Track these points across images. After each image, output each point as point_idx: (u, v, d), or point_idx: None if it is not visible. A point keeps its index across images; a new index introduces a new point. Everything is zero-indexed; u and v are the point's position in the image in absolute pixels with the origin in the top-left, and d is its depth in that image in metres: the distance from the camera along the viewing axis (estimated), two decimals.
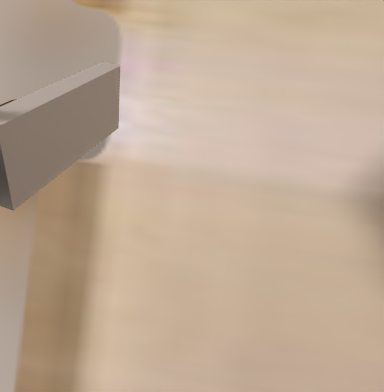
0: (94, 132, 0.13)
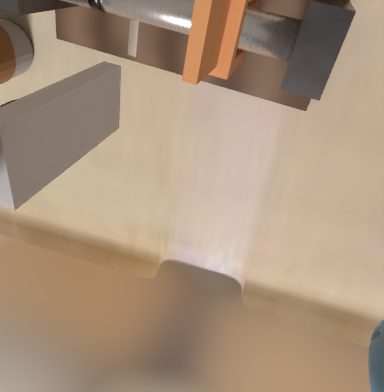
0: (95, 132, 0.13)
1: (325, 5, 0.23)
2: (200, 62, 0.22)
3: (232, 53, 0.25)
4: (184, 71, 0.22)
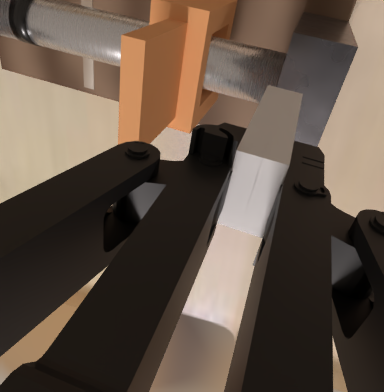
0: None
1: (315, 39, 0.16)
2: (139, 127, 0.15)
3: (194, 101, 0.19)
4: (120, 138, 0.16)
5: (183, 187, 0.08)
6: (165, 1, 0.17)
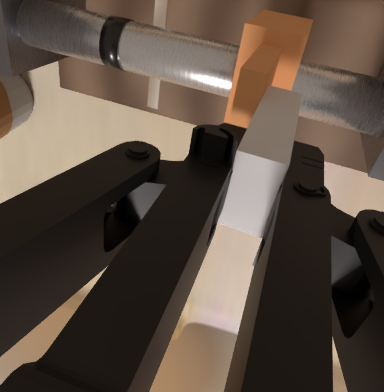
0: None
1: None
2: None
3: None
4: None
5: (183, 187, 0.08)
6: (259, 26, 0.16)
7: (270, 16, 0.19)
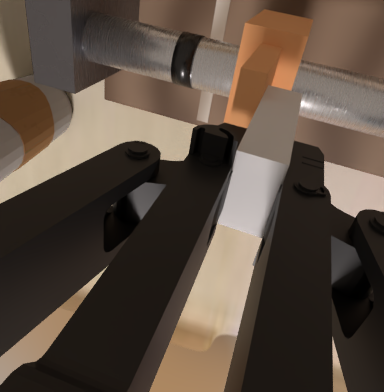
0: None
1: None
2: None
3: None
4: None
5: (183, 187, 0.08)
6: (260, 26, 0.16)
7: (270, 16, 0.19)
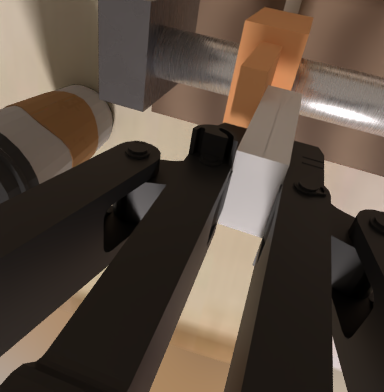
0: None
1: None
2: None
3: None
4: None
5: (183, 187, 0.08)
6: (260, 23, 0.16)
7: (270, 13, 0.19)
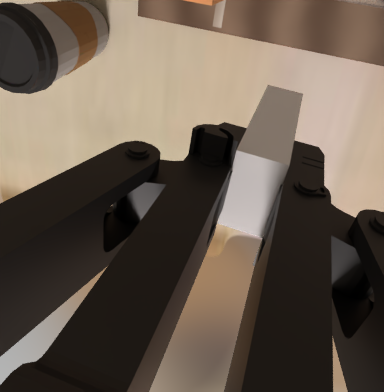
0: None
1: None
2: None
3: None
4: None
5: (183, 187, 0.08)
6: None
7: None
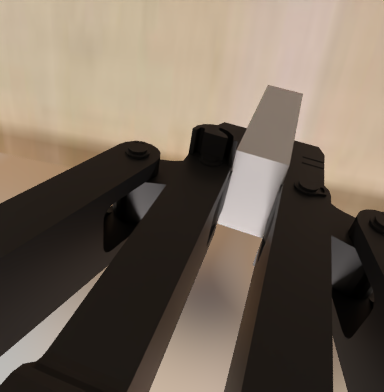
0: None
1: None
2: None
3: None
4: None
5: (183, 187, 0.08)
6: None
7: None
